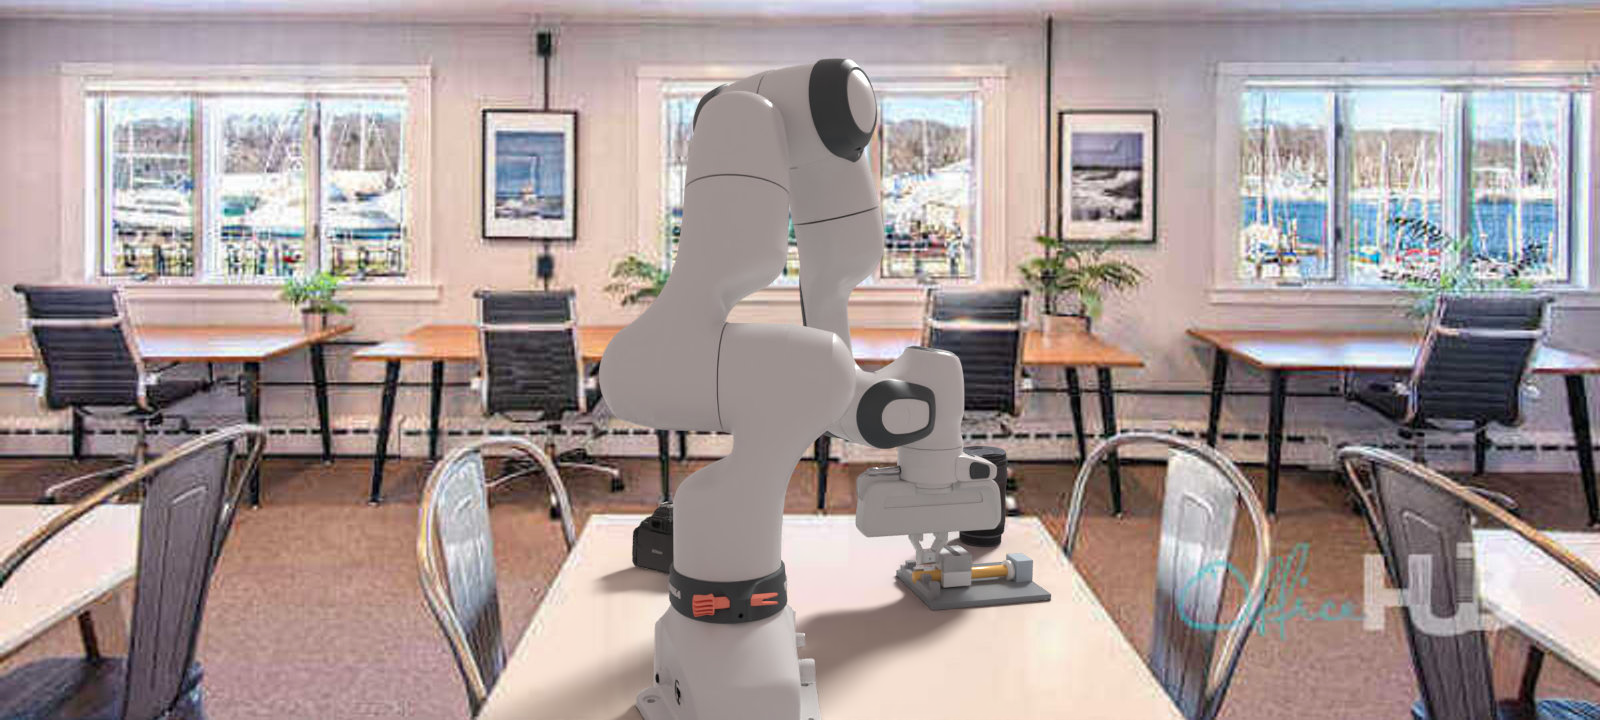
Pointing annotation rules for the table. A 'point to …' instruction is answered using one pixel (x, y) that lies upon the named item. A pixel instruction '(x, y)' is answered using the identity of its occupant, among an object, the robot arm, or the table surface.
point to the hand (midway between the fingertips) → (927, 563)
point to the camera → (655, 540)
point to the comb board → (976, 584)
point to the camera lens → (1000, 461)
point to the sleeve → (954, 566)
